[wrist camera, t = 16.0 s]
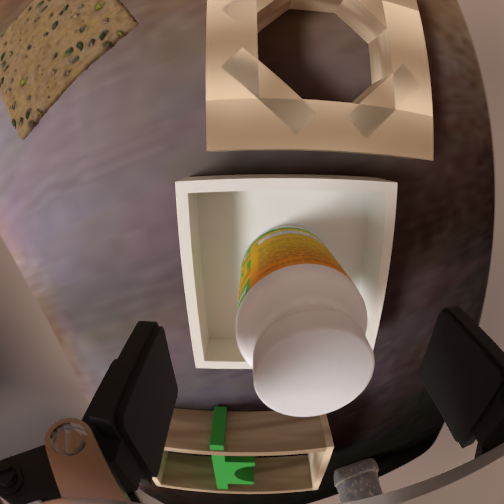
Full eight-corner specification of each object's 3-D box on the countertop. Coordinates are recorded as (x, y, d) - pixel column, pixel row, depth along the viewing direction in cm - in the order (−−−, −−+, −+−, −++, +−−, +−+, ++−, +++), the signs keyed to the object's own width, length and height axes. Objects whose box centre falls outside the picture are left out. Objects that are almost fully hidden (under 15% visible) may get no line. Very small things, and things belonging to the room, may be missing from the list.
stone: (330, 468, 27) (341, 536, 17) (375, 454, 26) (394, 520, 16) (334, 478, 28) (344, 540, 18) (377, 464, 27) (394, 526, 17)
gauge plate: (215, -18, 12) (209, -42, 9) (393, -1, 12) (411, -18, 9) (214, 151, 16) (206, 150, 13) (408, 158, 16) (433, 160, 13)
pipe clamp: (252, 462, 26) (252, 494, 22) (220, 461, 26) (218, 492, 22) (255, 407, 22) (256, 447, 18) (214, 405, 22) (209, 445, 18)
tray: (188, 176, 17) (175, 181, 14) (374, 177, 16) (397, 182, 14) (202, 340, 20) (196, 367, 17) (357, 334, 20) (370, 360, 17)
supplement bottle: (233, 231, 17) (211, 321, 8) (325, 217, 17) (402, 290, 7) (249, 312, 19) (245, 436, 9) (331, 299, 18) (385, 412, 9)
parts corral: (143, 404, 23) (129, 441, 18) (324, 407, 23) (334, 446, 18) (164, 454, 26) (156, 485, 21) (312, 456, 25) (317, 489, 21)
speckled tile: (144, 25, 14) (139, 20, 13) (26, 143, 16) (18, 144, 15) (85, -41, 10) (80, -46, 10) (-11, 57, 13) (-17, 56, 12)
